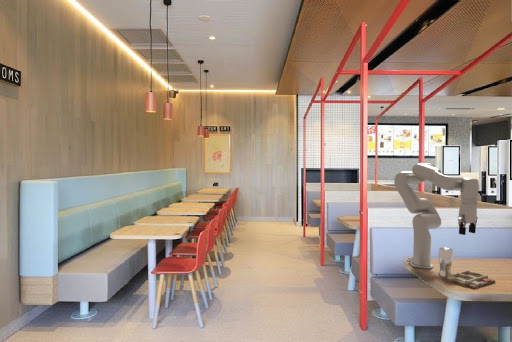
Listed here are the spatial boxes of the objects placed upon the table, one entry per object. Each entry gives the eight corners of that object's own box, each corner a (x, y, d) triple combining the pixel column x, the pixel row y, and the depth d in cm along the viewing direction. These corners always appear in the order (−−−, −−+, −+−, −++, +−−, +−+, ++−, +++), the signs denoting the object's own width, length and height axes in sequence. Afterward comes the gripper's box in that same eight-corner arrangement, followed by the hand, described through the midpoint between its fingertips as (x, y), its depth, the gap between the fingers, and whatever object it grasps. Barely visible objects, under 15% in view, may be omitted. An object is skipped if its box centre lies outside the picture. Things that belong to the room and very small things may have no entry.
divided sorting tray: (444, 280, 193) (444, 275, 192) (466, 274, 203) (466, 269, 203) (473, 288, 180) (474, 283, 180) (495, 282, 190) (495, 277, 190)
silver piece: (455, 277, 197) (456, 250, 197) (442, 277, 197) (443, 250, 196) (447, 273, 204) (448, 247, 204) (435, 273, 204) (436, 247, 203)
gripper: (470, 199, 200) (468, 230, 200) (452, 201, 190) (451, 233, 191) (485, 201, 193) (482, 233, 194) (467, 203, 184) (465, 236, 185)
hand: (467, 233), depth 193 cm, fingers open, 9 cm apart
